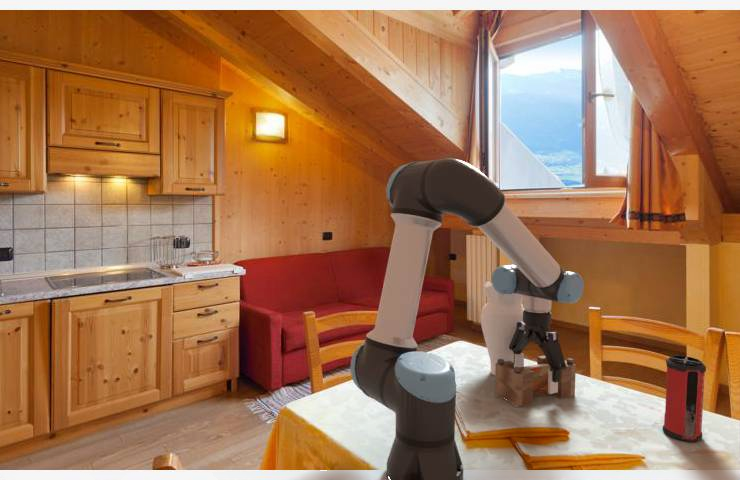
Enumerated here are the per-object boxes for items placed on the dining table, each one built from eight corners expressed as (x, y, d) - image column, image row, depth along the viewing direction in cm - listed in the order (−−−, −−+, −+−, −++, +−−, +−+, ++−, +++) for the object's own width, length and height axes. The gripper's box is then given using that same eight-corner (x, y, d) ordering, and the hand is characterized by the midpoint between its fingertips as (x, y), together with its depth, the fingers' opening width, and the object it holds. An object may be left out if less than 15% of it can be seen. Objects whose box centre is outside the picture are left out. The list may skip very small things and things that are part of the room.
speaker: (664, 423, 113) (668, 352, 112) (703, 433, 108) (707, 358, 107) (660, 435, 107) (663, 360, 106) (700, 446, 103) (705, 367, 101)
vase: (478, 379, 142) (479, 286, 140) (481, 363, 156) (482, 279, 154) (528, 384, 138) (530, 288, 136) (526, 368, 152) (529, 281, 150)
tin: (515, 400, 127) (516, 370, 127) (509, 395, 130) (509, 366, 130) (560, 393, 132) (561, 364, 131) (553, 389, 135) (554, 361, 134)
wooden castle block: (575, 395, 130) (576, 360, 129) (517, 407, 122) (518, 370, 122) (550, 383, 139) (551, 350, 138) (494, 393, 131) (495, 358, 131)
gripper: (582, 318, 119) (580, 398, 120) (518, 300, 142) (516, 367, 143) (560, 321, 116) (557, 403, 117) (497, 302, 139) (496, 370, 141)
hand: (535, 383), depth 130 cm, fingers open, 13 cm apart
